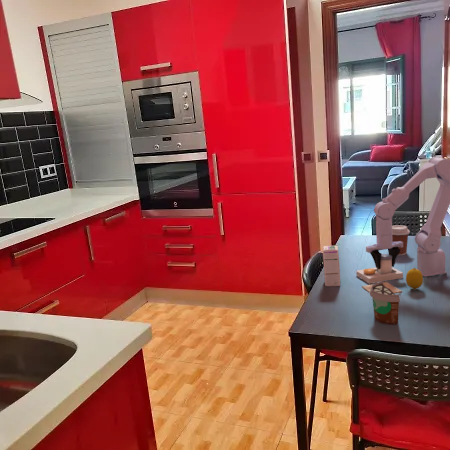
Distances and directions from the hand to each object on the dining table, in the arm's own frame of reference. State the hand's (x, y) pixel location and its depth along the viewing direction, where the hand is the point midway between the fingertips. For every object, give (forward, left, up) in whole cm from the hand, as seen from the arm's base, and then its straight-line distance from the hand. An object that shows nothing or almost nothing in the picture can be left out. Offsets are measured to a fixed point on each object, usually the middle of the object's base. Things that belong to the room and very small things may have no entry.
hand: (385, 267), depth 173 cm
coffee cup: (-20, -22, -4) cm, 30 cm away
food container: (+20, +33, -4) cm, 39 cm away
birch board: (+8, +12, -3) cm, 15 cm away
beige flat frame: (+2, 0, -3) cm, 4 cm away
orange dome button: (+6, 0, -3) cm, 7 cm away
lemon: (-2, +17, -4) cm, 17 cm away
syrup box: (+21, -1, -4) cm, 22 cm away
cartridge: (0, 0, -3) cm, 3 cm away
